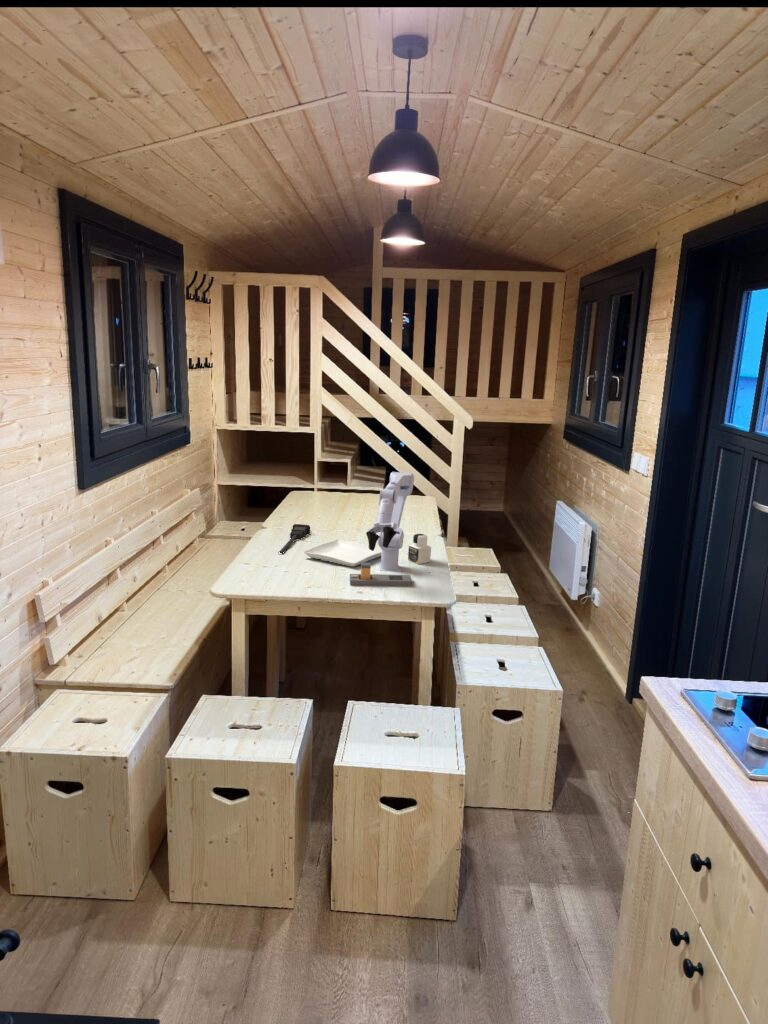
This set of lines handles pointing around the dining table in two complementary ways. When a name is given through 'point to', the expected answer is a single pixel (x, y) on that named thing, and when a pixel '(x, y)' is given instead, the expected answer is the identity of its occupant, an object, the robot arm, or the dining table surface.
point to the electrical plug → (296, 534)
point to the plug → (365, 571)
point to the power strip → (381, 580)
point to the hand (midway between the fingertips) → (378, 548)
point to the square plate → (344, 552)
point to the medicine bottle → (419, 550)
